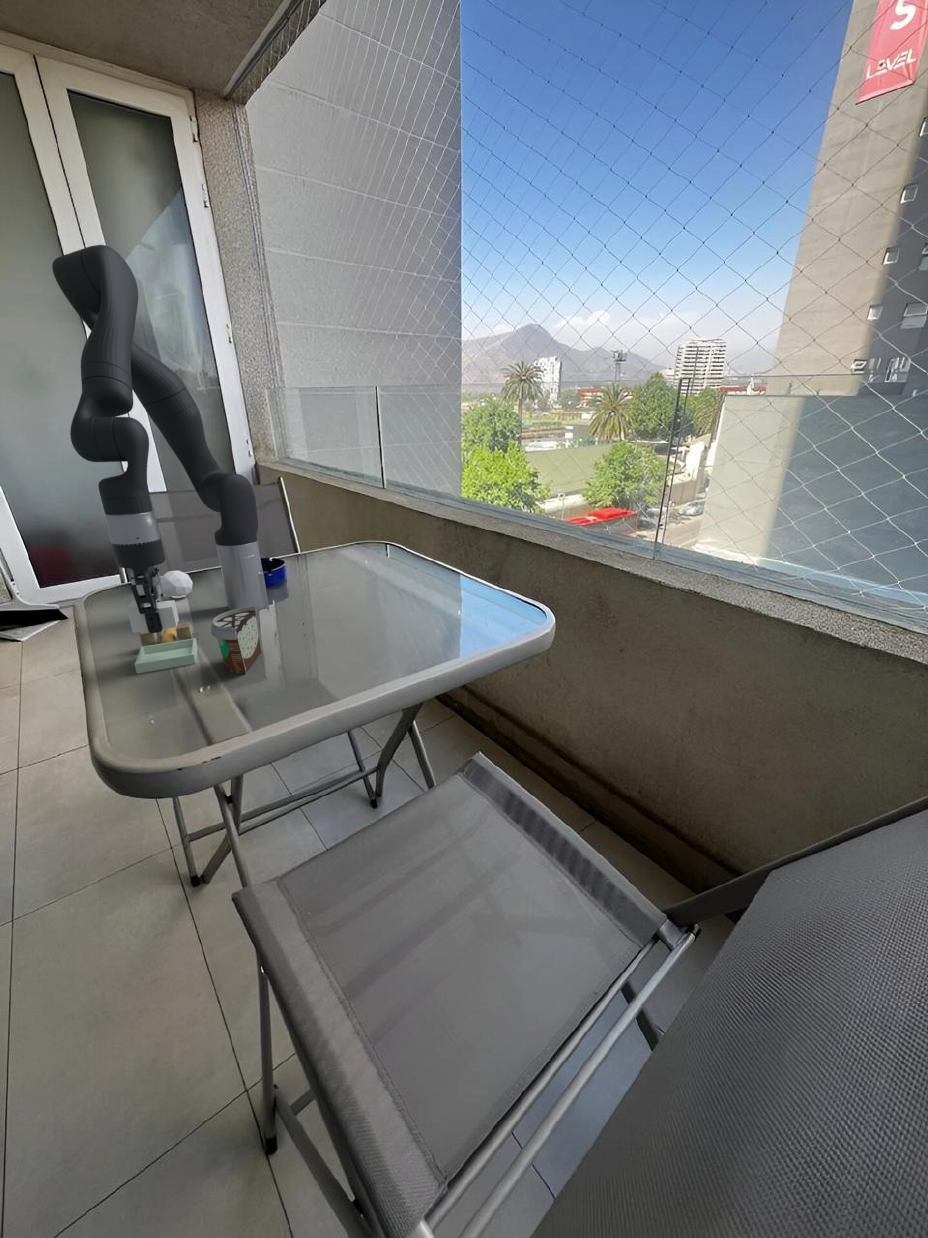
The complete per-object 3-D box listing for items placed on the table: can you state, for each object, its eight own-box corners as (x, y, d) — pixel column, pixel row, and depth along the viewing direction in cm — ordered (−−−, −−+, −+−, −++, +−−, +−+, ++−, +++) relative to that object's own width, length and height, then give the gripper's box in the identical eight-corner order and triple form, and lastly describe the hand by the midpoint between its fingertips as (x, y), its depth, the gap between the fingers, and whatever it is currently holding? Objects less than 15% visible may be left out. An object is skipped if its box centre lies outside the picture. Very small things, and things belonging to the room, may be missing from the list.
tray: (197, 646, 101) (195, 638, 100) (195, 663, 93) (193, 654, 93) (143, 655, 97) (141, 646, 96) (137, 673, 89) (134, 664, 89)
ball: (190, 606, 135) (202, 584, 133) (160, 604, 128) (172, 580, 126) (179, 588, 138) (191, 566, 136) (149, 585, 131) (161, 562, 129)
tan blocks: (194, 639, 104) (189, 622, 103) (193, 644, 102) (189, 626, 100) (146, 647, 101) (141, 629, 99) (144, 652, 98) (139, 634, 97)
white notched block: (178, 619, 96) (173, 595, 94) (176, 627, 92) (170, 601, 90) (137, 624, 93) (130, 599, 91) (133, 632, 89) (126, 607, 87)
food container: (233, 653, 99) (224, 606, 95) (264, 651, 99) (256, 605, 96) (209, 682, 87) (197, 630, 84) (244, 680, 88) (234, 629, 84)
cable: (179, 633, 108) (176, 623, 107) (175, 648, 100) (173, 637, 99) (166, 635, 107) (164, 625, 106) (162, 650, 99) (159, 639, 98)
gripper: (154, 543, 82) (176, 637, 88) (164, 530, 94) (183, 613, 100) (101, 547, 79) (127, 644, 85) (119, 533, 91) (141, 618, 97)
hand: (157, 627), depth 93 cm, fingers closed on white notched block, 4 cm apart
